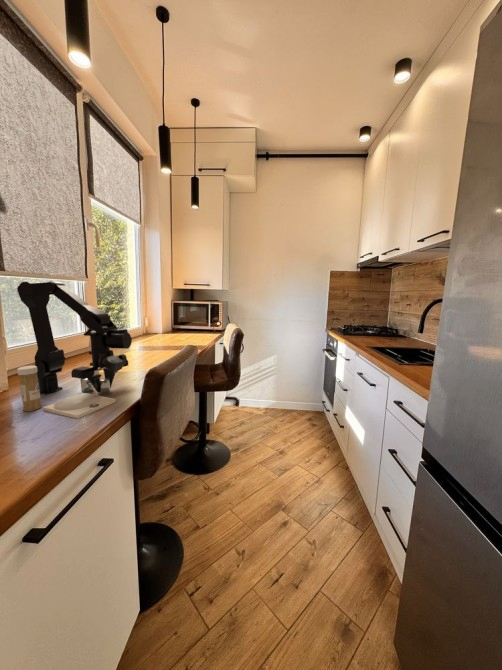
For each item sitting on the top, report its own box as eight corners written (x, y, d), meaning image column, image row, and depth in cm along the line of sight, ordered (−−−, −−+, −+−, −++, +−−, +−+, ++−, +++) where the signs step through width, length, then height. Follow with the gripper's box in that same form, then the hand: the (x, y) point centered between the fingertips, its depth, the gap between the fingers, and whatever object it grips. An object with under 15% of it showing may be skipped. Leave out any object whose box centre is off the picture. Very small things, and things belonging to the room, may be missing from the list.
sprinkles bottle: (40, 409, 81) (35, 367, 79) (21, 413, 78) (15, 369, 76) (42, 404, 85) (37, 364, 83) (24, 407, 82) (18, 366, 80)
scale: (43, 410, 80) (43, 405, 80) (83, 395, 92) (83, 391, 92) (77, 418, 75) (77, 413, 75) (115, 401, 87) (115, 397, 87)
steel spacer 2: (95, 394, 94) (94, 380, 93) (105, 390, 97) (104, 377, 97) (103, 395, 92) (102, 382, 92) (113, 391, 96) (112, 378, 95)
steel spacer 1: (79, 392, 95) (77, 379, 95) (89, 388, 99) (88, 376, 98) (86, 394, 94) (85, 380, 93) (96, 390, 98) (95, 377, 97)
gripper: (92, 355, 81) (96, 403, 83) (138, 345, 98) (140, 384, 100) (68, 352, 85) (72, 398, 87) (115, 343, 102) (118, 381, 104)
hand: (104, 390), depth 95 cm, fingers closed on steel spacer 2, 4 cm apart
